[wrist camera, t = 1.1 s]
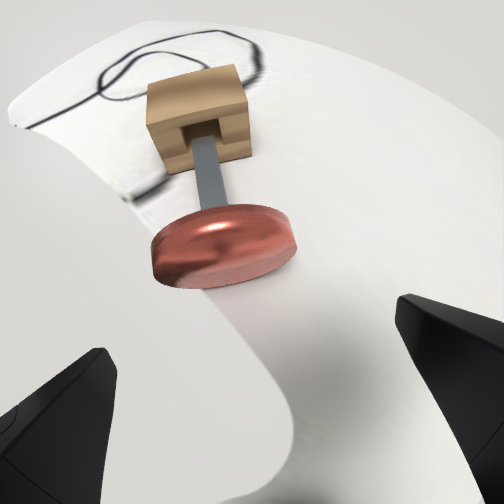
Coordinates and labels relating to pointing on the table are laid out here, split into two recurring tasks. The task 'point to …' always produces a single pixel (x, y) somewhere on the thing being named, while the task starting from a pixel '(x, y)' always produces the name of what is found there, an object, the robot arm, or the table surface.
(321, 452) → the table surface
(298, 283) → the table surface
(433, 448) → the table surface
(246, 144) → the tan block
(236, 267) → the copper disc handle
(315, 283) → the table surface
